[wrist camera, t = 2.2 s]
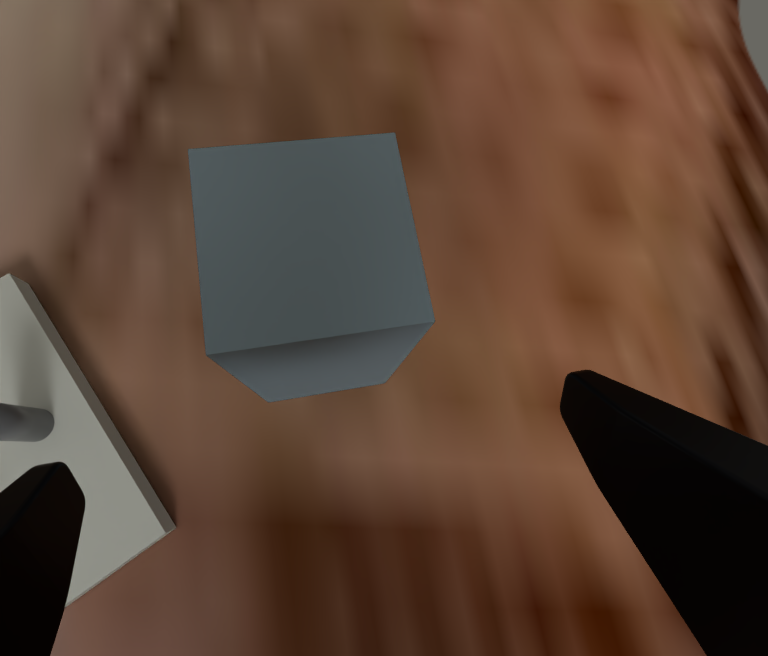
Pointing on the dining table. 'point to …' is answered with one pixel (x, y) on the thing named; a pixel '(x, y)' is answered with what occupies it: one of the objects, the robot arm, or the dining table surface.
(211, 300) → the block
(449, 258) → the dining table surface
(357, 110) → the dining table surface
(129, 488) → the base plate
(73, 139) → the dining table surface
